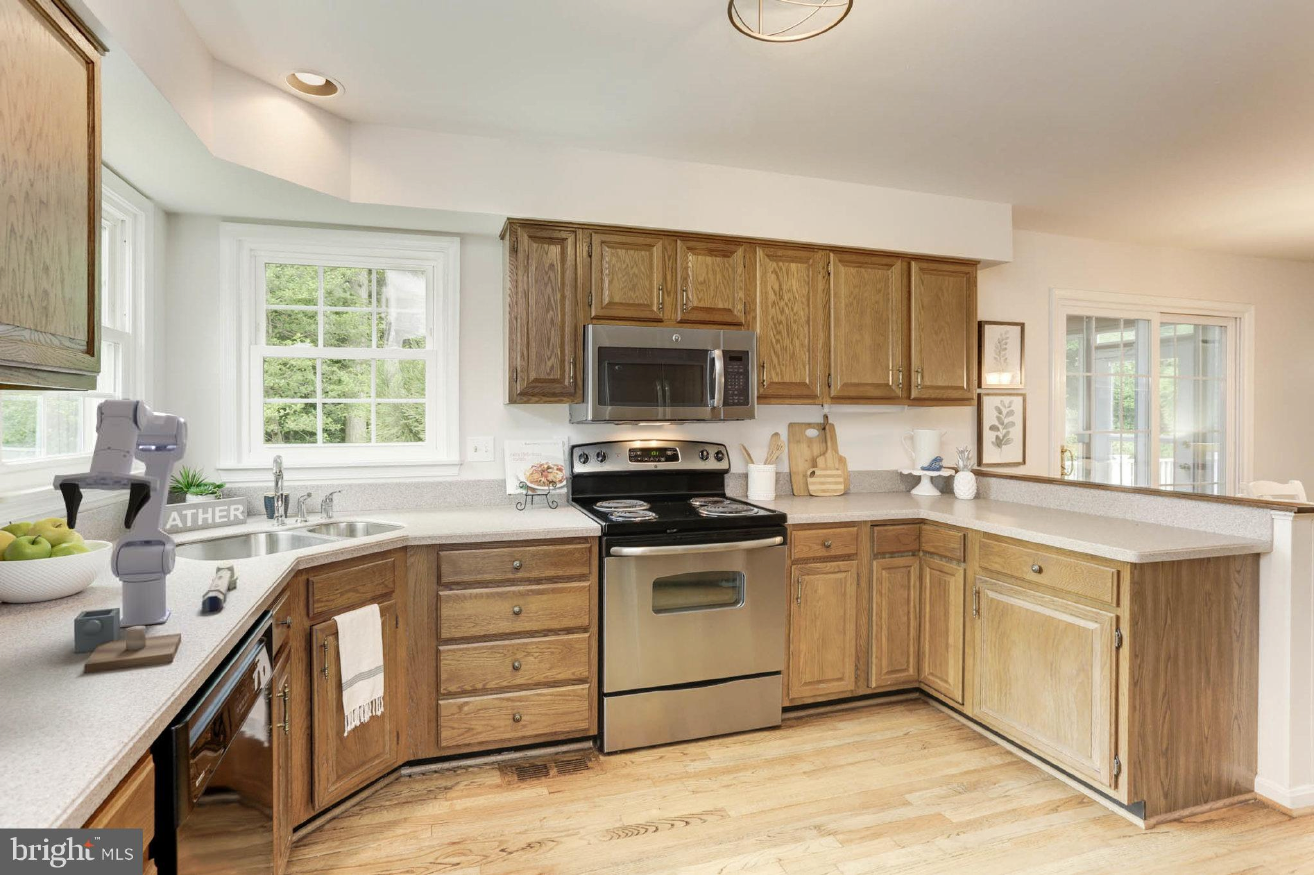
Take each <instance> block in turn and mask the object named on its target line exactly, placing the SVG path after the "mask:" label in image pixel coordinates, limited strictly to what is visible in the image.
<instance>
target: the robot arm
mask: <svg viewBox="0 0 1314 875" xmlns="http://www.w3.org/2000/svg"><path fill="white" fill-rule="evenodd" d="M144 401H145V400H143V399H132V398H126V397H123V398H121V399H111V398H110V399H108V398H107V399H105V400H104V401H100V402H99V403H98V405H97V406H96V425H95V432H96V434H97V436H96V440H95V445H94V449H93V450H94V451H93V455H92V460H91V463H90V468H89V472H81V473H79V472H78V473H73V474H55V475H54V478H53V481H52V486H53V488H54V490H55V491H60V492H61V495H62V497H63V501H64V505H65V509H66V510H65V511H66V526H67V528H68V529H69V530H75V528H76V524H77V518H78V512H79V509H80V505H81V502H82V500H83V498H84V495H83V493H82V490H101V491H110V492H111V491H112V492H113V491H123V490H125V491H127V490H128V491H129V498H128V504H127V508H126V512H125V517H124V520H123V522H124V523H123V525H124V527H125V530H130V529H132V526H133V523H134V521H135V525H134V529H133V530H131V531H128V533H126V534H124V535H122V536H121V537H119V538H118V540H117V541H116V546H115V548H114V550H113V552H112V555H111V560H110V570H111V572H112V575H113V576H114V577H115V578H118V581H119V582H122V583H121V586H122V587H121V589H122V592H121V593H122V594H121V595H122V596H121V599H122V601H121V602H122V604H121V605H122V610H121V613H122V618H120V628H125V627H127V628H129V627H134V626H145V625H154V624H163V623H166V622H167V621H168V619H169V616H170V615H171V612H172V608H167V579H166V578H167V577H166V576H168V575H171V573H172V572H173V571H174V569H175V564H176V547H177V546H176V542H175V540H174V538H173V536H171V535H170V534H168V533H166V532H165V531H163V526H164V520H165V513H166V509H167V503H168V501H167V500H168V497H169V490H170V484H171V477H172V473H173V470H174V467H175V463H177V462H179V461H181V460H182V459H184V457H185V454H186V450H187V445H188V430H189V429H188V424H187V421H186V420H185V419H184V418H183V417H179V416H178V415H174V414H168V413H163V412H157V411H156V412H154V411H153V410H152V409H151V408H150V407H149V406H147V405H145V402H144ZM134 459H135V460H137V461H139V462H141V463H143V464H144V465H145V470H144V475H138V474H131V472H132V467H133V463H134ZM135 519H136V520H135Z"/></svg>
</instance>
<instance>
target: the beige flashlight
mask: <svg viewBox="0 0 1314 875" xmlns="http://www.w3.org/2000/svg"><path fill="white" fill-rule="evenodd" d="M238 579H239V574H238V573H237V572H235V566H234V564H233V563H232V562H223V563H219V564H218V565H217V567H216V570H215V574H214V576H212V580H211V581H212V582H211V584H210V585H209V586H208V589H207V590H206V592H204V594H203V595H202V601H201V610H203V611H204V612H206V613H210V612H211V613H212V612H213V613H214V612H219V611H220V610H221V609H222V608H223V606H224V605H225V604H226V603H227V592H228V590H232V589H234V588H237V586H238V584H237V582H238Z"/></svg>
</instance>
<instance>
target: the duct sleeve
mask: <svg viewBox="0 0 1314 875" xmlns="http://www.w3.org/2000/svg"><path fill="white" fill-rule="evenodd" d="M120 610H121V609H120V607H114V608H103V609H95V610H94V609H91V610H83V611H81V612H80V613H78V615H77V616H76V617H75V618H74V619H73V623H74V624H73V631H74V632H73V634H74V640H73V641H74V643H73V644H74V649H73V650H74V653H84V652H94V651H95V649H96V648H97V647H98V645H99V644H100V643H101V642H110V641H119V640H121V627H120V620H121V615H120V614H121V612H120Z"/></svg>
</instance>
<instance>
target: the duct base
mask: <svg viewBox="0 0 1314 875" xmlns="http://www.w3.org/2000/svg"><path fill="white" fill-rule="evenodd" d="M146 631H147V630H146V626H145V625H137V626H129V627H127V628H126V629H125V639H120V640H119V641H110V642H101V643H100V644H99V645H98V647H97V648H96V649H95V650H94V651H92V653H91V655H90V656H89V657H88V659H87V660H86V661H85V662H84V665H83V666H84V667H83V669H84V670H83V671H84V674H90V673H97V672H104V671H105V672H106V671H112V670H113V671H114V670H121V669H128V668H137V667H143V666H151V665H158V664H159V665H160V664H167V663H173V661H174V659H175V657H176V654H177V652H178V649H179V647H180V645H181V644H182V643H181V642H182V633H173V634H165V635H164V634H163V635H156V636H146V634H147V632H146Z"/></svg>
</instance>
